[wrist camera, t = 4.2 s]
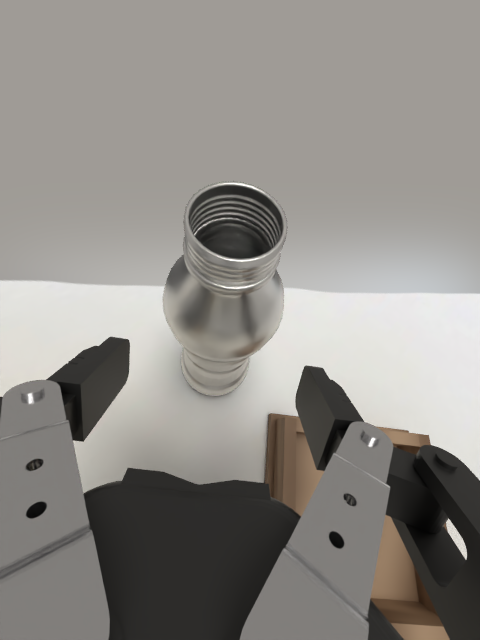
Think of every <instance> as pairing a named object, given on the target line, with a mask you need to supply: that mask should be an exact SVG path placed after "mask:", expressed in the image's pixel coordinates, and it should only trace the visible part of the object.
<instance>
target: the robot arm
mask: <svg viewBox="0 0 480 640" xmlns="http://www.w3.org/2000/svg"><path fill="white" fill-rule="evenodd" d="M129 354H130V343H129V340H128V339H122V338H115V337H109V338H108V339H107V340H105V341H104V342H103V343H102V344H101V345H99V346H93V347H91V348H88V349H86V350H83V351H82V352H81V353H80V354H78V355H77V356H76V357H75V358H73V359H72V360H71V361H69V362H68V364H66V365H64V366H63V367H62V368H61V369H59V370H58V371H57V372H55V373H54V374H53V375H52V376H50V377H49V378H48V379H47V380H36V381H30V382H26V383H22V384H20V385H17V386H15V387H13V388H12V389H10V390H9V391H7V392H6V393H5V394H4V396H3V397H0V640H404V639H403V638H402V636H401V635H400V634H399V633H398V632H397V630H396V629H395V628H394V627H393V626H392V624H391V623H390V622H389V621H388V620H387V618H386V617H385V616H384V615H383V613H382V612H381V611H380V610H379V609H378V607H377V606H376V605H375V604H374V603H373V601H372V600H371V599H370V598H371V592H372V587H373V581H374V576H375V570H376V564H377V559H378V553H379V548H380V542H381V537H382V531H383V525H384V520H385V515H387V516H390V517H391V518H392V521H393V523H394V525H395V527H396V529H397V531H398V533H399V535H400V537H401V539H402V541H403V543H404V545H405V548H406V550H407V552H408V554H409V556H410V558H411V560H412V562H413V564H414V566H415V568H416V570H417V573H418V575H419V577H420V579H421V581H422V583H423V585H424V587H425V589H426V591H427V593H428V595H429V597H430V600H431V602H432V604H433V606H434V608H435V610H436V612H437V614H438V616H439V618H440V620H441V622H442V624H443V627H444V629H445V631H446V633H447V635H448V637H449V639H450V640H480V480H479V479H478V478H477V477H476V476H475V475H474V474H473V473H472V472H471V471H470V469H469V468H468V467H467V466H466V465H465V464H464V463H463V462H462V461H460V460H459V459H458V458H457V457H455V456H454V455H452V454H451V453H449V452H447V451H445V450H443V449H441V448H438V447H435V446H432V445H423V446H421V447H420V449H419V451H418V453H417V455H415V454H412V453H410V452H407V451H404V450H401V449H398V448H396V447H393V443H392V441H391V440H390V438H389V437H388V436H387V435H386V434H385V433H384V432H383V431H381V430H380V429H379V428H377V427H375V426H373V425H371V424H368V423H365V422H364V421H363V419H362V418H361V416H360V415H359V413H358V412H357V410H356V408H355V407H354V405H353V404H352V403H351V401H350V399H349V398H348V397H347V395H346V393H345V392H344V390H343V389H342V387H341V386H339V385H338V384H337V383H336V382H335V381H333V380H330V379H329V377H328V376H327V374H326V373H325V371H324V369H323V368H320V367H313V366H305V367H304V369H303V372H302V376H301V379H300V383H299V386H298V390H297V393H296V401H295V402H296V409H297V412H298V415H299V418H300V421H301V424H302V427H303V430H304V433H305V436H306V439H307V442H308V445H309V448H310V451H311V454H312V457H313V460H314V464H315V467H316V470H321V471H324V473H323V475H322V477H321V479H320V481H319V483H318V485H317V487H316V489H315V491H314V493H313V495H312V497H311V498H310V500H309V502H308V504H307V506H306V508H305V510H304V512H303V514H302V516H300V515H299V514H298V513H297V512H295V511H294V510H293V509H292V508H290V507H289V506H287V505H286V504H284V503H283V502H281V501H279V500H277V499H275V498H272V497H270V489H269V484H266V483H257V482H248V481H239V480H232V481H225V482H217V483H210V484H203V485H198V484H194V483H191V482H189V481H186V480H183V479H181V478H178V477H175V476H173V475H170V474H168V473H165V472H160V471H151V470H142V469H133V468H128V469H127V471H126V473H125V475H124V478H123V480H122V481H116V482H112V483H108V484H105V485H102V486H99V487H96V488H94V489H92V490H89V491H87V492H85V493H84V494H83V490H82V485H81V480H80V475H79V470H78V465H77V460H76V455H75V450H74V445H73V440H75V441H83V442H84V440H85V439H86V437H87V436H88V435H89V433H90V432H91V430H92V429H93V428H94V426H95V425H96V424H97V422H98V421H99V419H100V418H101V417H102V415H103V414H104V413H105V411H106V410H107V408H108V407H109V406H110V404H111V403H112V401H113V400H114V399H115V397H116V396H117V395H118V393H119V392H120V390H121V389H122V388H123V386H124V385H125V383H126V381H127V378H128V374H129ZM448 518H449V519H450V520H451V522H452V523H453V525H454V526H455V528H456V529H457V531H458V532H459V534H460V535H461V537H462V538H463V540H464V542H465V545H466V549H467V560H465V558H464V557H463V555H462V554H461V552H460V550H459V549H458V547H457V546H456V544H455V543H454V541H453V540H452V538H451V536H450V535H449V533H448V532H447V530H446V529H445V527H444V524H445V523H446V521H447V520H448Z"/></svg>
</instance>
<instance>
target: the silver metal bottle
mask: <svg viewBox="0 0 480 640" xmlns="http://www.w3.org/2000/svg"><path fill="white" fill-rule="evenodd" d="M184 231H185V237H184V242H183V250H184V255H182V256H181V257H180V258H179V259H178V260H177V261H176V263H175V264H174V266H173V267H172V268H171V271H170V273H169V275H168V278H167V281H166V284H165V288H164V294H163V310H164V314H165V317H166V321H167V323H168V325H169V327H170V329H171V331H172V332H173V334H174V336H175V338H176V339H177V340H178V341H179V342H180V344H181V345H182V346H183V350H182V357H181V368H182V371H183V375H184V377H185V379H186V381H187V382H188V383H189V384H190V386H191V387H193V388H194V389H195V390H196V391H198V392H200V393H202V394H205V395H209V396H219V395H224V394H227V393H229V392H231V391H233V390H234V389H236V388H237V387H238V386H239V385H240V384H241V383H242V381H243V380H244V378H245V376H246V374H247V371H248V367H249V361H250V356H251V355H253V354H254V353H256V352H257V351H259V350H260V349H261V348H262V347H263V346H264V345H265V344H266V343H267V342H268V341H269V340H270V339H271V338H272V337H273V335H274V334H275V332H276V331H277V329H278V327H279V325H280V322H281V319H282V316H283V309H284V290H283V285H282V281H281V278H280V276H279V274H278V272H277V270H276V268H277V266H278V263H279V260H280V252H281V249H282V247H283V245H284V242H285V239H286V234H287V219H286V216H285V213H284V211H283V209H282V207H281V206H280V204H279V203H278V202H277V201H276V200H275V199H274V198H273V197H272V196H271V195H270V194H268V193H267V192H265V191H264V190H262V189H260V188H258V187H255V186H253V185H250V184H246V183H242V182H234V181H233V182H219V183H214V184H211V185H208V186H206V187H204V188H203V189H201V190H199V191H198V192H197V193H196V194H194V195H193V197H192V198H191V199H190V200H189V202H188V204H187V207H186V209H185V215H184Z"/></svg>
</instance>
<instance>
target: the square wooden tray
mask: <svg viewBox="0 0 480 640" xmlns="http://www.w3.org/2000/svg"><path fill="white" fill-rule="evenodd" d="M377 428H379V429H380V430H381V431H383V432H384V433H385V434H386V435H387V436H388V437H389V438H390V440H391V441H392V443H393V447H396V448H398V449H401V450H404V451H407V452H410V453H412V454H415V455H417V453H418V451H419V449H420V447H421V446H423V445H430V439H429V435H422V434H414V433H409V431H406V430H398V429H391V428H383V427H377ZM323 473H324V471H321V470H316V467H315V464H314V460H313V457H312V454H311V451H310V448H309V445H308V442H307V439H306V436H305V433H304V430H303V427H302V424H301V421H300V418H299V417H296V416H288V415H280V414H272V413H271V414H269V418H268V436H267V454H266V473H265V483H266V484H269V489H270V497H272V498H275V499H277V500H279V501H281V502H283V503H284V504H286V505H287V506H289V507H290V508H292V509H293V510H294V511H295V512H297V513H298V514H299V515H300V516H302V514H303V512H304V510H305V508H306V506H307V504H308V502H309V500H310V498H311V497H312V495H313V493H314V491H315V489H316V487H317V485H318V483H319V481H320V479H321V477H322V475H323ZM444 527H445V529H446V530H447V527H446V523H445V524H444ZM370 599H371V600H372V601H373V603H374V604H375V605H376V606H377V607H378V609H379V610H380V611H381V612H382V613H383V615H384V616H385V617H386V618H387V620H388V621H389V622H390V623H391V624H392V626H393V627H394V628H395V629H396V630H397V632H398V633H399V634H400V635H401V636H402V638H403V639H404V640H450V639H449V637H448V635H447V633H446V631H445V629H444V627H443V624H442V622H441V620H440V618H439V616H438V614H437V612H436V610H435V608H434V606H433V604H432V602H431V600H430V597H429V595H428V593H427V591H426V589H425V587H424V585H423V583H422V581H421V579H420V577H419V575H418V573H417V570H416V568H415V566H414V564H413V562H412V560H411V558H410V556H409V554H408V552H407V550H406V548H405V545H404V543H403V541H402V539H401V537H400V535H399V533H398V531H397V529H396V527H395V525H394V523H393V521H392V518H391V517H390V516H387V515H385V520H384V525H383V531H382V537H381V542H380V548H379V553H378V559H377V564H376V570H375V576H374V581H373V587H372V592H371V598H370Z"/></svg>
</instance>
